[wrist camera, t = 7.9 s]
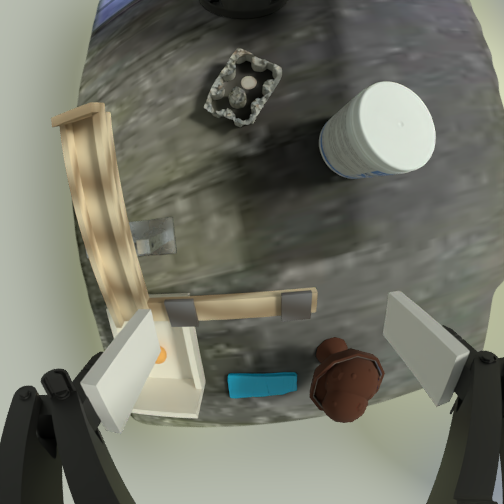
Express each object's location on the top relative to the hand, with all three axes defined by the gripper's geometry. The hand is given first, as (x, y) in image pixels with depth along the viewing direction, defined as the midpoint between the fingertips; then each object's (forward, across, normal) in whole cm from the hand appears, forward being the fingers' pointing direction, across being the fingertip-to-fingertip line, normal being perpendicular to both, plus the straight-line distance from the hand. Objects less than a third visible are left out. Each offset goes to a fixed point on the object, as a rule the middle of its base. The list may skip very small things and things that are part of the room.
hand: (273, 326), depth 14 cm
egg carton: (+26, -1, +21) cm, 33 cm away
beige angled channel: (+16, -7, +4) cm, 18 cm away
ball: (+22, -17, -17) cm, 33 cm away
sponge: (+24, -1, -26) cm, 35 cm away
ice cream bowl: (+24, +11, -20) cm, 33 cm away
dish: (+24, -17, -16) cm, 33 cm away
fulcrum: (+24, -17, +1) cm, 30 cm away
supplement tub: (+25, +14, +12) cm, 31 cm away
